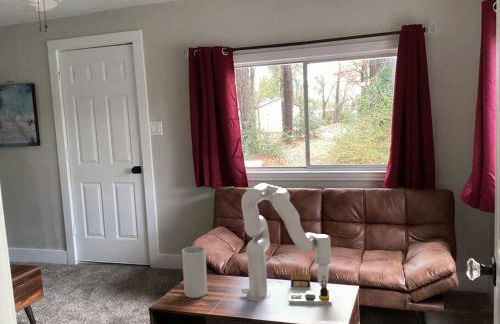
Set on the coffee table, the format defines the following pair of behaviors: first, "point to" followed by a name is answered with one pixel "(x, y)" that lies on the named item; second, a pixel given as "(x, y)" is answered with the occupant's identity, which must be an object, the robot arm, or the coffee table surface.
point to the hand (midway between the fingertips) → (323, 292)
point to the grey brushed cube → (309, 295)
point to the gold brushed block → (324, 296)
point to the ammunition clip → (301, 281)
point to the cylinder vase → (194, 271)
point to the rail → (302, 300)
